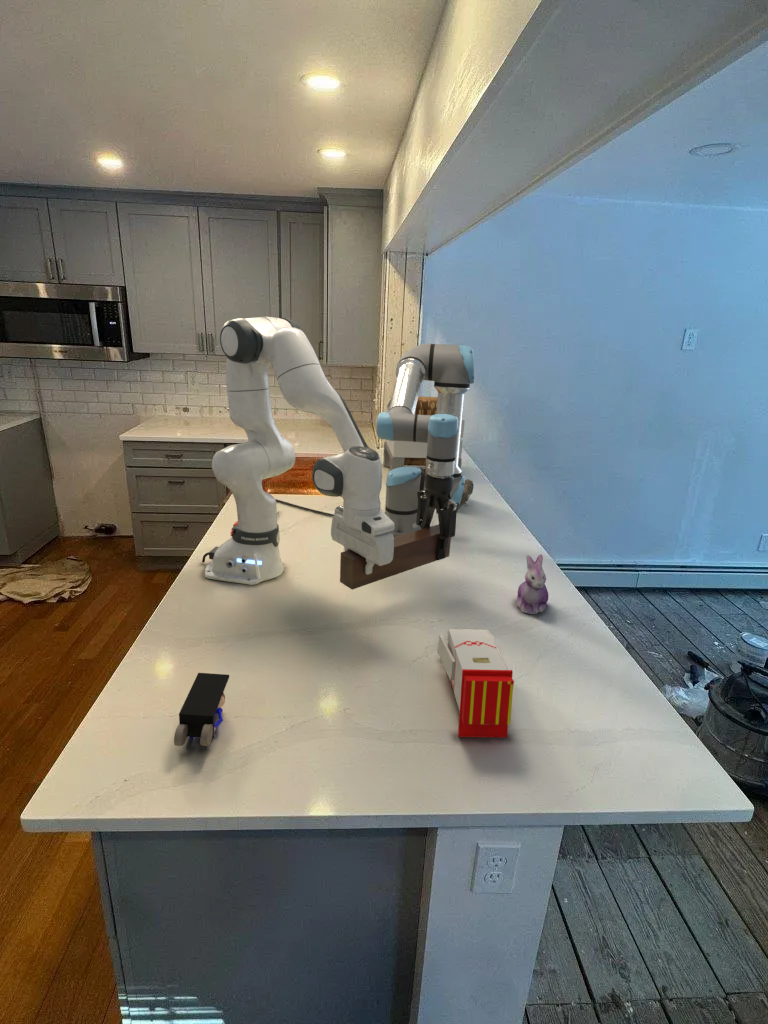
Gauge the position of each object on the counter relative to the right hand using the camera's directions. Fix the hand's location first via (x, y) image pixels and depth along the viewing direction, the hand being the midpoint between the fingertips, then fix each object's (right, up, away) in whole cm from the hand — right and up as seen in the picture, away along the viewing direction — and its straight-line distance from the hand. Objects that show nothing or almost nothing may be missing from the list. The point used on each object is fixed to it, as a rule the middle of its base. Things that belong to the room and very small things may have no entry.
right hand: (433, 555), depth 157 cm
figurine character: (-47, -28, -52) cm, 75 cm away
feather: (-54, +11, +55) cm, 78 cm away
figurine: (+27, -14, -3) cm, 30 cm away
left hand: (-20, -2, -17) cm, 26 cm away
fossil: (+16, +15, +77) cm, 80 cm away
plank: (-10, -3, -8) cm, 13 cm away
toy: (+4, -26, -38) cm, 46 cm away
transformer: (+4, +31, +118) cm, 122 cm away
